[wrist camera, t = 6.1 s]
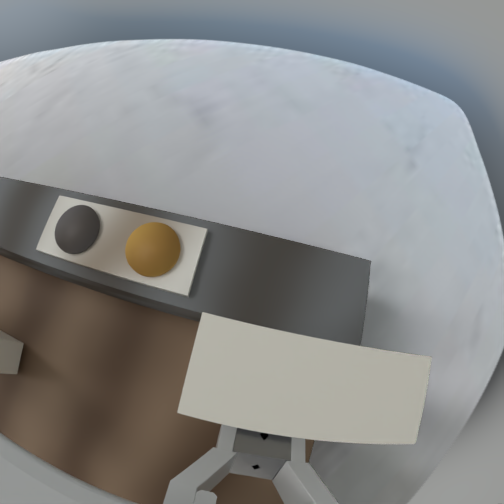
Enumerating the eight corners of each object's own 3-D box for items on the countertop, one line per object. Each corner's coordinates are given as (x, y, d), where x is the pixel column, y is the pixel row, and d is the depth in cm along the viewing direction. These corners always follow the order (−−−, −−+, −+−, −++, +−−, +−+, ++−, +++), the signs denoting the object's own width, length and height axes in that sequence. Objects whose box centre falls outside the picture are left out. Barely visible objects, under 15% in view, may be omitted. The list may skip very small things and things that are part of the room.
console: (-33, 412, 13) (-82, 413, 8) (29, 191, 19) (-6, 150, 14) (276, 537, 13) (292, 585, 8) (339, 264, 19) (377, 227, 14)
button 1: (206, 389, 14) (172, 431, 5) (217, 344, 15) (202, 311, 6) (304, 409, 14) (410, 460, 5) (314, 365, 15) (431, 356, 6)
